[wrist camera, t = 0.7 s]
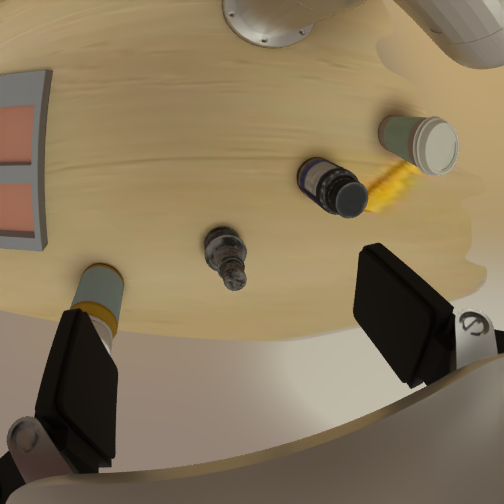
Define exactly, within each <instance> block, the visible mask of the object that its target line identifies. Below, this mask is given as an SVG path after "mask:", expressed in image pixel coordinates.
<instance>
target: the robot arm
mask: <svg viewBox="0 0 504 504" xmlns="http://www.w3.org/2000/svg"><path fill="white" fill-rule="evenodd" d="M365 1H366V0H223V12H224V16H225V18H226V20H227V23H228V24H229V26H230V27H231V28H232V30H233V31H234V32H235V33H236V34H237V35H238V36H240V37H241V38H243V39H244V40H246V41H247V42H249V43H252V44H254V45H257V46H261V47H265V48H282V47H286V46H290V45H293V44H295V43H297V42H299V41H301V40H302V39H304V38H305V37H306V36H307V35H308V34H309V32H310V31H311V30H312V28H313V26H314V24H315V23H316V22H318V21H321V20H323V19H325V18H328V17H331V16H333V15H336V14H338V13H341V12H344V11H346V10H349V9H352V8H354V7H357V6H359V5H361V4H362V3H364V2H365ZM394 1H395V2H396V3H397V4H398V5H399V6H400V7H401V8H402V9H403V10H404V11H405V12H406V13H407V14H408V15H409V16H410V17H411V18H412V19H413V20H414V21H415V22H416V23H417V24H418V25H419V26H420V27H421V28H422V29H423V31H424V32H425V33H426V34H427V35H428V36H429V37H430V38H431V39H432V40H433V41H434V42H435V44H436V45H438V47H439V48H440V49H441V50H442V51H443V52H444V53H445V54H446V55H447V56H448V57H450V58H451V59H452V60H454V61H455V62H457V63H459V64H460V65H463V66H466V67H468V68H472V69H492V68H496V67H500V66H503V65H504V0H394ZM229 15H233V17H230V16H229ZM299 32H301V34H300V33H299ZM261 40H264V43H262V42H261ZM453 309H454V307H453V306H452V305H451V304H450V303H449V302H448V301H447V300H445V299H444V298H443V297H442V296H441V295H440V294H439V293H438V292H437V291H436V290H434V289H433V288H432V287H431V286H430V285H429V284H428V283H427V282H426V281H424V280H423V279H422V278H421V277H420V276H419V275H418V274H416V273H415V272H414V271H413V270H412V269H411V268H410V267H408V266H407V265H406V264H405V263H404V262H403V261H401V260H400V259H399V258H398V257H397V256H395V255H394V254H393V253H392V252H391V251H389V250H388V249H387V248H386V247H385V246H383V245H382V244H381V243H375V244H371V245H367V246H364V247H363V249H362V251H361V252H360V253H359V260H358V271H357V281H356V290H355V299H354V307H353V314H354V317H355V319H356V321H357V322H358V323H359V325H360V326H361V327H362V329H363V330H364V331H365V333H366V334H367V335H368V337H369V338H370V339H371V341H372V342H373V343H374V345H375V346H376V347H377V349H378V350H379V351H380V353H381V354H382V356H383V357H384V358H385V360H386V361H387V362H388V364H389V365H390V366H391V368H392V369H393V371H394V372H395V373H396V375H397V376H398V377H399V379H400V380H401V381H402V382H403V383H407V384H408V385H409V387H410V388H411V389H412V388H414V387H416V386H418V385H420V384H421V383H423V381H424V383H425V384H426V385H427V386H426V387H424V388H422V389H421V390H418V391H416V392H414V393H412V394H410V395H408V396H407V397H404V398H402V399H401V400H398V401H396V402H394V403H392V404H390V405H388V406H386V407H383V408H381V409H379V410H377V411H374V412H372V413H370V414H367V415H365V416H363V417H360V418H358V419H355V420H353V421H350V422H348V423H346V424H343V425H341V426H338V427H335V428H332V429H329V430H327V431H324V432H321V433H318V434H316V435H312V436H310V437H306V438H303V439H300V440H297V441H294V442H290V443H287V444H283V445H280V446H277V447H273V448H269V449H265V450H262V451H258V452H254V453H250V454H246V455H241V456H236V457H232V458H228V459H222V460H218V461H212V462H206V463H200V464H194V465H188V466H181V467H173V468H165V469H157V470H145V471H133V472H117V473H99V471H98V469H99V467H112V466H111V459H113V458H115V436H116V434H115V433H116V403H117V386H118V385H117V384H118V370H117V367H116V365H115V363H114V361H113V360H112V358H111V356H110V354H109V353H108V351H107V349H106V347H105V345H104V344H103V342H102V340H101V338H100V336H99V334H98V332H97V331H96V329H95V327H94V325H93V323H92V321H91V319H90V317H89V315H88V313H87V312H85V311H84V312H83V311H82V310H81V309H80V308H76V309H71V310H66V311H64V312H63V314H62V317H61V320H60V323H59V325H58V328H57V331H56V334H55V337H54V340H53V344H52V347H51V350H50V353H49V356H48V360H47V363H46V367H45V370H44V374H43V377H42V381H41V385H40V389H39V393H38V397H37V401H36V406H35V416H34V417H30V416H26V417H22V418H20V419H18V420H16V421H15V422H14V423H13V424H12V426H11V427H10V429H9V431H8V435H7V445H8V449H9V451H8V452H7V453H6V454H5V455H4V456H2V457H1V458H0V504H504V331H499V330H494V327H493V324H492V322H491V320H490V319H489V317H488V316H487V315H485V314H484V313H483V312H480V311H479V310H475V309H463V310H461V311H459V312H458V313H457V315H456V316H455V315H454V314H453V313H452V312H453Z"/></svg>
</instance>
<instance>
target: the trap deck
mask: <svg viewBox="0 0 504 504" xmlns="http://www.w3.org/2000/svg"><path fill="white" fill-rule="evenodd" d="M52 73H53V71H48V70H42V71H31V72H22V73H14V74H6V75H0V248H4V249H16V250H29V251H43V250H44V248H45V247H46V245H47V244H48V242H47V231H46V216H45V193H44V158H45V135H46V121H47V110H48V101H49V93H50V86H51V79H52Z"/></svg>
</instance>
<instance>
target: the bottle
mask: <svg viewBox="0 0 504 504" xmlns="http://www.w3.org/2000/svg"><path fill="white" fill-rule="evenodd" d="M123 289H124V283H123V279H122V277H121V275H120V274H119V273H118V272H117V271H116V270H115V269H114V268H112V267H110V266H107V265H102V264H98V265H93V266H91V267H89V268H88V269H87V270H85V272H84V274H83V276H82V278H81V280H80V283H79V286H78V288H77V291H76V294H75V296H74V299H73V302H72V305H71V307H70V310H71V309H76V308H80V309H81V310H82V311H83V312H84V311H85V312H87V313H88V315H89V317H90V319H91V321H92V323H93V325H94V327H95V329H96V331H97V332H98V334H99V336H100V338H101V340H102V342H103V344H104V345H105V347H106V349H107V351H108V353H109V354H110V356H111V348H112V340H113V338H114V337H115V335H116V333H117V328H118V321H119V314H120V308H121V302H122V296H123Z"/></svg>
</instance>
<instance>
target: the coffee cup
mask: <svg viewBox="0 0 504 504" xmlns="http://www.w3.org/2000/svg"><path fill="white" fill-rule="evenodd" d="M378 136H379V141H380V143H381V145H382V146H383V147H384V148H386V149H387V150H389V151H391V152H392V153H394V154H396V155H398V156H400V157H401V158H403V159H405V160H406V161H408V162H410V163H411V164H413V165H415V166H416V167H418V168H419V169H420V170H421V171H422V172H423V173H424V174H427V175H432V176H436V175H444V174H446V173H448V172H449V171H450V170H451V169H452V168H453V167H454V165H455V163H456V161H457V159H458V155H459V138H458V135H457V132H456V130H455V129H454V128H453V127H452V126H451V125H450V124H449V123H447V121H445V120H444V119H442V118H440V117H436V116H432V117H429V118H423V117H404V116H389V117H387V118H385V119H384V120H383V121H382V122H381V124H380V127H379V131H378Z"/></svg>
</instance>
